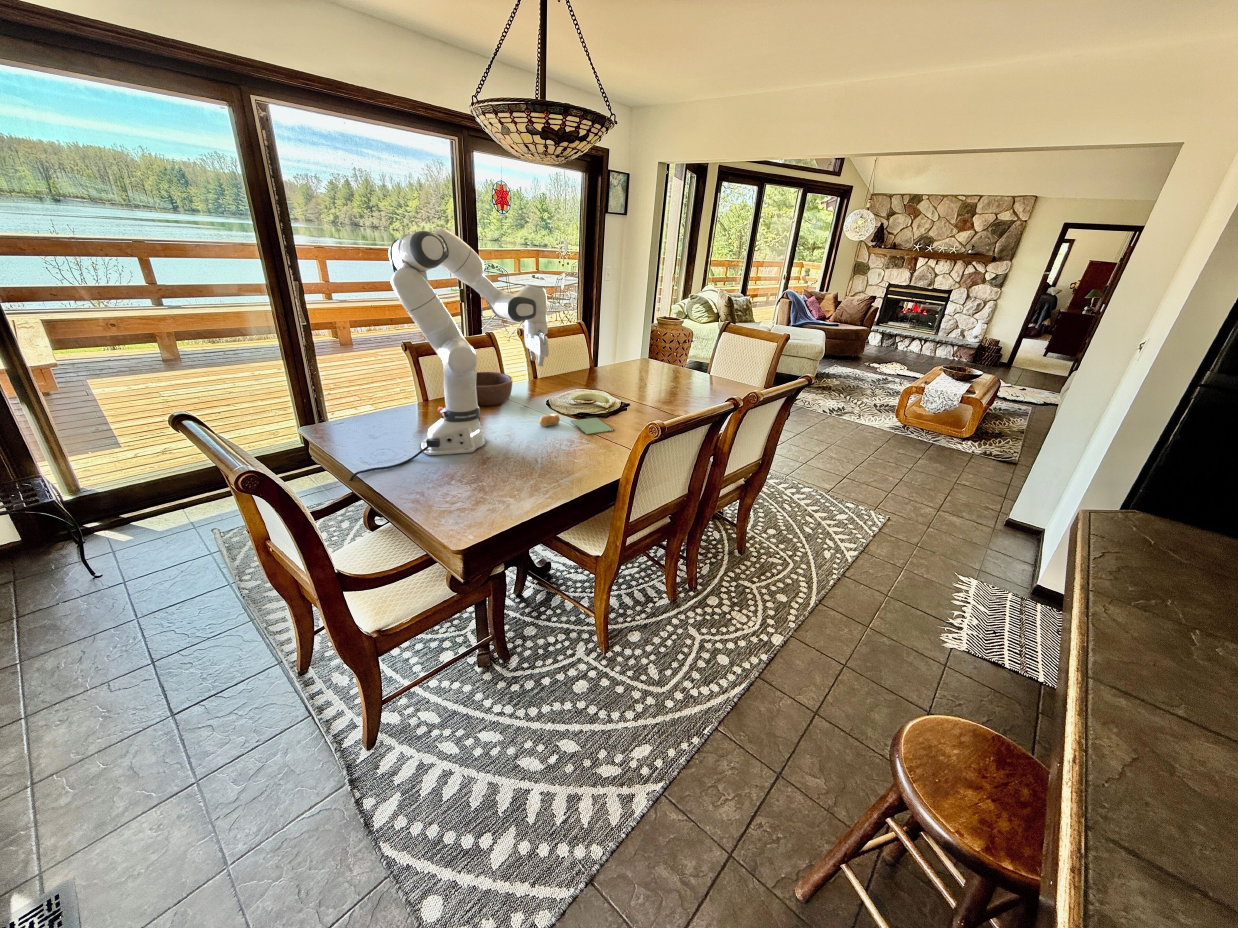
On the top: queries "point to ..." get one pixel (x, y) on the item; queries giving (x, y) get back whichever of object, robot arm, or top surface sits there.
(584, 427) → the cloth
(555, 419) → the roll
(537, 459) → the top surface
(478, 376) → the wooden bowl
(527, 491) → the top surface
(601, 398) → the banana
